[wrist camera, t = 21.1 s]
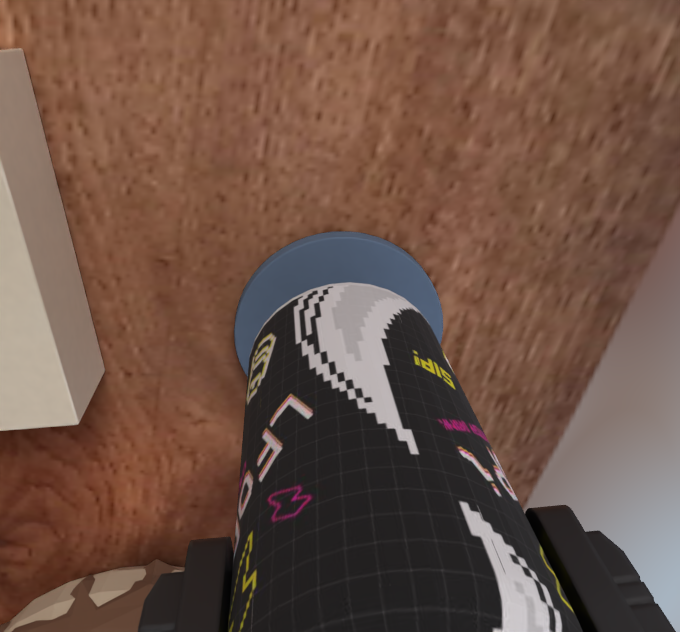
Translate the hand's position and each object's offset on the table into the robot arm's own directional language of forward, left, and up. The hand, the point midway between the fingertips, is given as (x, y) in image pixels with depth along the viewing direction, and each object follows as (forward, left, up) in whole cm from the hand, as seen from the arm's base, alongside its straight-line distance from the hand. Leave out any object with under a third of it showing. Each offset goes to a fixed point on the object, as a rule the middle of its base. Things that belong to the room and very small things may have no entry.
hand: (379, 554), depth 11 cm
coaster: (0, 0, -10) cm, 10 cm away
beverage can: (0, 0, -8) cm, 8 cm away
